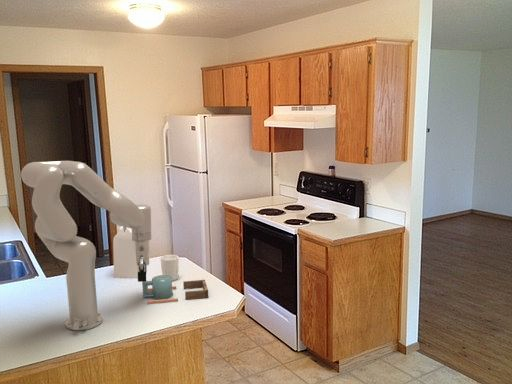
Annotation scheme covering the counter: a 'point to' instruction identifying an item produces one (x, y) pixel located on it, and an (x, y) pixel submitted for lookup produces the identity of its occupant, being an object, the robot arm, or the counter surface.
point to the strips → (162, 299)
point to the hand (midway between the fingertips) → (142, 277)
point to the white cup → (170, 266)
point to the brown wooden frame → (195, 294)
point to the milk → (124, 254)
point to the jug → (159, 287)
